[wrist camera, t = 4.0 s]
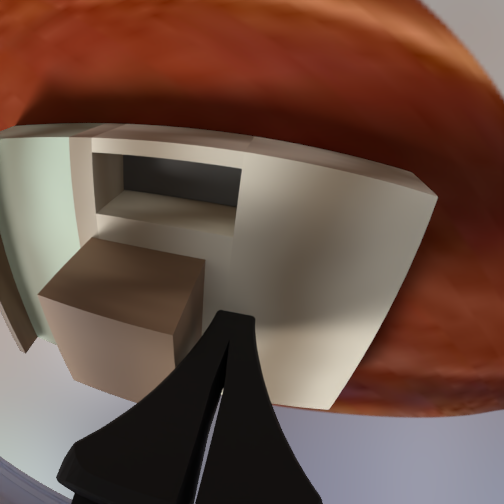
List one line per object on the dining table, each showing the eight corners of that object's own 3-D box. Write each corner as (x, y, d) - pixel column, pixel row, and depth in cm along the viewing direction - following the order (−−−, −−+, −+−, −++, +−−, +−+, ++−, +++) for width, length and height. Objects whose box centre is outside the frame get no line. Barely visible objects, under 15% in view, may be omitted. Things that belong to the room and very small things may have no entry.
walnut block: (205, 259, 10) (172, 335, 7) (201, 346, 13) (179, 415, 10) (91, 236, 10) (37, 294, 8) (107, 321, 13) (73, 379, 10)
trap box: (411, 172, 10) (459, 218, 7) (327, 373, 17) (329, 433, 13) (14, 126, 11) (-46, 151, 7) (51, 309, 17) (20, 350, 14)
